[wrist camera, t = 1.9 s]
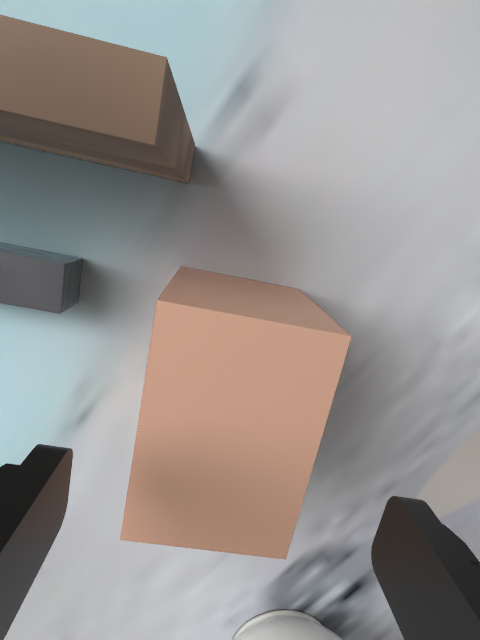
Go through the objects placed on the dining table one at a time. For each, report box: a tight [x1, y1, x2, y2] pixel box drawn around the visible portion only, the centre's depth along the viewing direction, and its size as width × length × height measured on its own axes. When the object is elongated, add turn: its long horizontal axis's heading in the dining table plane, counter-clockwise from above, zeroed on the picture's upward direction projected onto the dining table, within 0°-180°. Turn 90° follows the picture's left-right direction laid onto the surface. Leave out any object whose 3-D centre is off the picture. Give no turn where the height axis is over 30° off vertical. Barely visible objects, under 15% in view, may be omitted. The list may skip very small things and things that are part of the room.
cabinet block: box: [120, 266, 352, 559], centre depth 15 cm, size 8×6×7 cm
